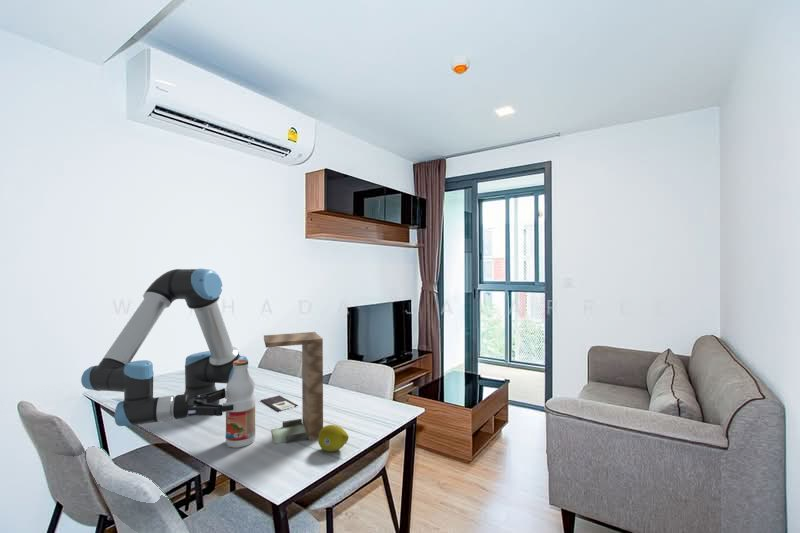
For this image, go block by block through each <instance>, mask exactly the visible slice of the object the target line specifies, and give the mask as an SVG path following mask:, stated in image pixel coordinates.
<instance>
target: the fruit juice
mask: <svg viewBox="0 0 800 533" xmlns="http://www.w3.org/2000/svg"><path fill="white" fill-rule="evenodd" d="M247 366H248V367H249V359H248V360H236V361H234V362H233V367H234V371H233V375H232V377H231V379H230V381H229V382H228V383H226V388H225V391H227V395H228V398H227V399H226V402H225V403H229V402H237V401H245V410H237V411H230V412H225V442H226V443H225V444H226V446H227V447H229V448H243V447H247V446H249V445H251V444H252V443H253V442H255V439H256V398H255V394H254V391H255V386H256V385H255V381H254V379H253V378H252V377H251V375H250V374H249V370H248V369H249V368H248V369H247Z"/></svg>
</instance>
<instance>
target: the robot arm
mask: <svg viewBox="0 0 800 533" xmlns="http://www.w3.org/2000/svg"><path fill="white" fill-rule="evenodd" d="M222 287H223V282H222V279H221V277H220V275H219V274H218V273H217V272H216V271H214V270H212V269H205V268H187V269H186V268H184V269H183V268H176V269H171V270H168V271H166V272H165V273H162V274H161V275H160V276H159V277H158V278H156V279H155V280H154V281H153V282H152V283H151V284H150V285H149V287H148V288H147V289H146V290H145V291H144V293H143V295H142V297H143V300H142V301H141V303H140V304H139V306H138V307H137V309H136V310H135V311H134V313H133V315H132V316H130V319H129V320H128V321H127V323H126V325H125V326H124V328H123V329H122V330H121V332H120V333H119V335H117V337H116V339H115V341H114V342H113V343H112V345H111V346H110V348H109V349H108V350H107V351H106V353H105V355H104V356H103V358H102V360H100V362H99V363H98V364H97V365H93V366H90V367H88V368H87V369H86V370H84V371H83V373H82V375H81V377H80V383H81V385H82V387H83V388H85V389H87V390H91V391H96V392H101V391H102V392H105V391H106V392H119V393H121V392H122V393H123V394H124V396H123V398H124V399H123V400H122V401H119V402H118V403H117V404H116V406H115V410H114V423H115V424H116V425H117V426H118V427H127V426H132V427H133V426H137V425H144V424H150V423H151V424H152V423H158V422H162V423H166V422H167V421H172V420H173V419H174V420H179V419H187V418H188V417H194V416H205V417H206V416H207V417H209V416H210V417H221V416H224V415H223V413H226V412H230V411H237V410H245V401H237V402H229V403H226V402H223V403H222V404H220V400H223V399H225V400H227V398H228V395H227V391H226V388H225V387H224V388H223V387H222V389H218V390H217V387H216V384H227V383H228V382H229V381H230V379H231V377H232V375H233V371H234V367H233V362H234V361H236V360H248V361H249V359H248V357H246V356H244V355H240V352H239V350H238V349H237V348H236V347H234V346H233V345H232V341H231V338H230V336H229V333H228V330H227V327H226V324H225V321H224V318H223V315H222V312H221V310H220V307H219V304H218V302H219V299H220V296H221V294H222V292H223V289H222ZM176 300H185V302H186V305H187V307H188V308H189V309H191V310H193V311H194V313H195V316H196V318H197V322H198V324H199V327H200V329H201V332H202V334H203V337H204V339H205V342H206V345H207V348H208V351H207V350H206V351H205V350H204V351H200V352H197V353H191V354H190V355H188V356H186V358H185V361H184V362H185V363H184V373H185V374H184V377H185V378H184V379H185V380H184V381H185V384H184V387H185V389H184V392H183V394H176V395H168V396H167V395H164V396H157V397H154V376H155V373H154V367H153V366H154V365H153V362H152V361H151V360H148V359H147V360H146V359H145V360H134V361H133V359H134V357H135V355H136V354H137V353H138V351H139V350H140V348H141V346H142V345H143V343H144V341H145V340H146V338H147V336H149V334H150V333H151V331H152V329H153V328H154V327H155V324H156V323H157V321H158V320H159V319H160V316H162V313H163V312H164V311H165V309H167V308H169V307H171V305H172V303H173V302H174V301H176ZM247 369H249V365H248V366H247Z"/></svg>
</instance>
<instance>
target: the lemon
mask: <svg viewBox="0 0 800 533" xmlns="http://www.w3.org/2000/svg"><path fill="white" fill-rule="evenodd" d="M348 441H349V434H348V433H347V432H346V431H345V429H344V428H342V427H341V426H338V425H335V424H328V425H325V426H323V428H322V429H321V431H320V433H319V436H318V439H317V442H318V445H319V447H320V449H322V450H324V451H325V452H329V453H331V452H332V453H333V452H337V451H339V450H340V449H342V448H343V447H344V446H345V445H346V444H347V443H348Z"/></svg>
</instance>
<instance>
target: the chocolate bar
mask: <svg viewBox="0 0 800 533" xmlns="http://www.w3.org/2000/svg"><path fill="white" fill-rule="evenodd" d="M261 401H262V402H261ZM260 402H261V403H263V404H265V405H266V406H268V407H269V406H270V407H269V408H271V409H273V410H274V411H276V412H277V411H278V412H277V413H280V412H283V410H284V411H286V409H287V410H290V409H289V408H291V409H293V408H292V407H294V408H297V407H296V406H298V407H299V405H298V404H296V403H294V402H292V401H290V400H288V399H287V398H286V397H283V396H282V395H280V394H279V395H276V396H272V397H267V398H263V399H260ZM279 411H280V412H279Z"/></svg>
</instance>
